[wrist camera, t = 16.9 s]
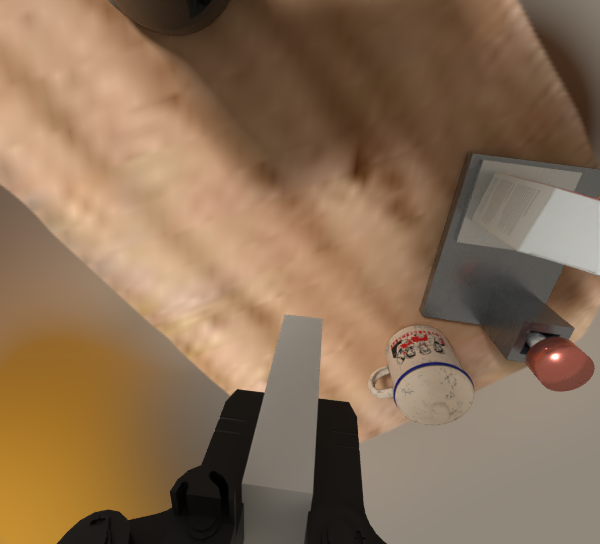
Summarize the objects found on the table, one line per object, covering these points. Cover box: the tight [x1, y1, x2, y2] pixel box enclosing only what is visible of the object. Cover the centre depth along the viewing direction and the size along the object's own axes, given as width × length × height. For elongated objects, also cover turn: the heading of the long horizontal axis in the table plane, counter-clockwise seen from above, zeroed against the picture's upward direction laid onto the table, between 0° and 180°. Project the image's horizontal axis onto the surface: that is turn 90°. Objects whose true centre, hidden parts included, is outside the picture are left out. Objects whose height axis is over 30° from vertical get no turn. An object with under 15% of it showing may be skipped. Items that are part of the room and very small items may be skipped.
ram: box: [526, 331, 594, 391], centre depth 35 cm, size 5×5×10 cm
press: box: [419, 153, 600, 363], centre depth 35 cm, size 20×14×8 cm
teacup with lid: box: [368, 325, 474, 425], centre depth 41 cm, size 12×9×12 cm
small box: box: [471, 172, 600, 276], centre depth 30 cm, size 8×6×10 cm
